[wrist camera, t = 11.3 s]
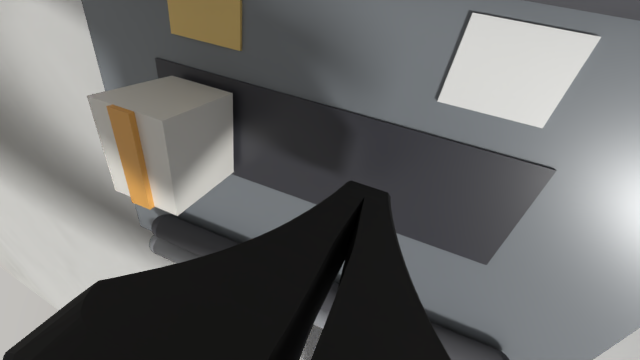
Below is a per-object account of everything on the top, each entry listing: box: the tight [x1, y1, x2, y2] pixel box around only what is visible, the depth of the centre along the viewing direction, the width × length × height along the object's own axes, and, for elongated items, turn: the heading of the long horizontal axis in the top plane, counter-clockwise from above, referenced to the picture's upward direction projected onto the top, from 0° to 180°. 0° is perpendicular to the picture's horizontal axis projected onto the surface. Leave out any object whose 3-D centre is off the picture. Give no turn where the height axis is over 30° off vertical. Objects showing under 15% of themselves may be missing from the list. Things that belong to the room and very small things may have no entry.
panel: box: [81, 0, 640, 360], centre depth 12 cm, size 18×24×2 cm
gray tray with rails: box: [149, 0, 640, 360], centre depth 11 cm, size 17×20×1 cm
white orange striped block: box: [87, 76, 234, 216], centre depth 11 cm, size 4×3×4 cm
